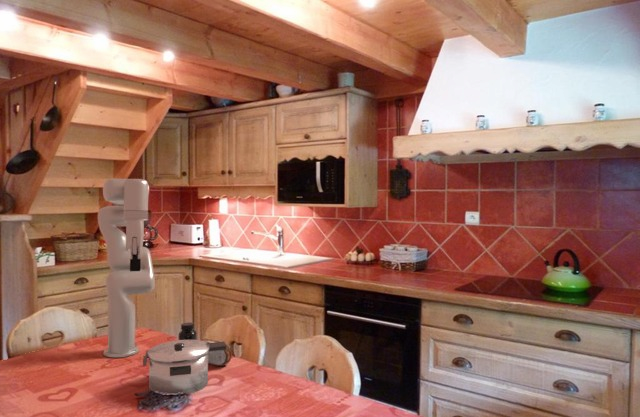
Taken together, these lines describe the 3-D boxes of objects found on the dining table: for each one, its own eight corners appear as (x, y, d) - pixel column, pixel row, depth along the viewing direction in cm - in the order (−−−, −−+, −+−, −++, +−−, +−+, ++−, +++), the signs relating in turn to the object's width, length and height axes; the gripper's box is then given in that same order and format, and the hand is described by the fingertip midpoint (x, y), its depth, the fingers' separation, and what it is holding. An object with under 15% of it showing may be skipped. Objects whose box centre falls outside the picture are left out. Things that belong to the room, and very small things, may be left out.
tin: (231, 366, 166) (232, 342, 166) (226, 369, 163) (226, 345, 163) (198, 359, 172) (199, 336, 172) (193, 361, 170) (193, 338, 170)
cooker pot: (144, 374, 156) (144, 345, 156) (204, 368, 163) (205, 340, 163) (141, 403, 134) (141, 369, 134) (211, 395, 140) (211, 363, 140)
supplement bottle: (189, 351, 181) (189, 320, 181) (200, 354, 177) (201, 323, 177) (174, 355, 176) (174, 324, 176) (186, 359, 172) (186, 327, 172)
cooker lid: (146, 347, 154) (146, 339, 154) (221, 339, 162) (221, 331, 162) (144, 366, 136) (144, 357, 136) (229, 356, 144) (228, 348, 144)
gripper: (125, 215, 161) (124, 268, 161) (121, 216, 147) (121, 274, 147) (148, 215, 163) (147, 267, 163) (147, 216, 149) (146, 273, 149)
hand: (135, 270), depth 155 cm, fingers closed
